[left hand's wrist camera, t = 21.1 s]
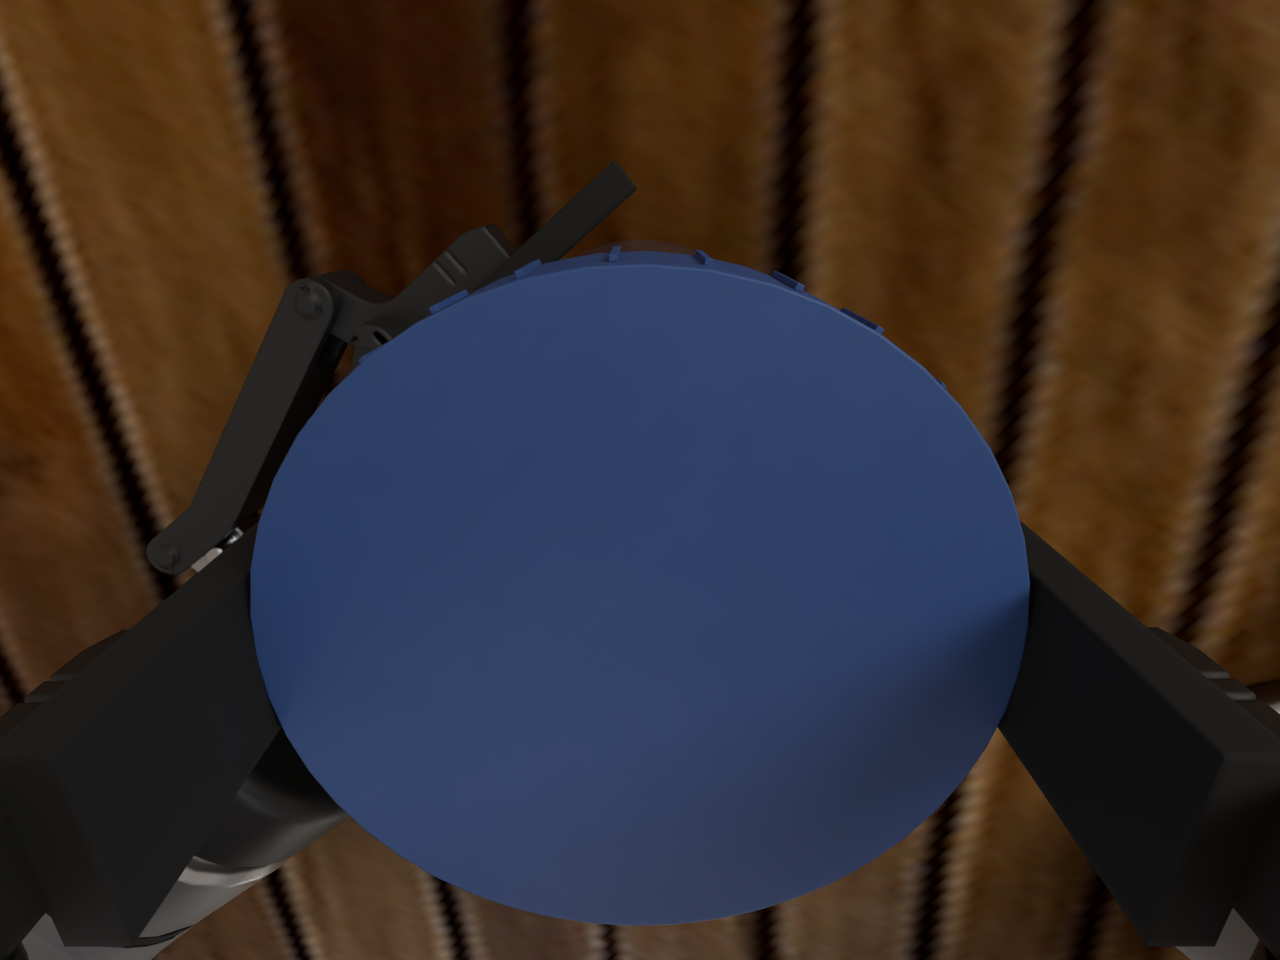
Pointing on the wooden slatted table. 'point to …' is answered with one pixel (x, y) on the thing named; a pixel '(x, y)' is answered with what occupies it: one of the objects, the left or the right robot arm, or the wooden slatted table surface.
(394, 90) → the wooden slatted table surface
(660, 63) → the wooden slatted table surface
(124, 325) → the wooden slatted table surface
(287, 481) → the lid
